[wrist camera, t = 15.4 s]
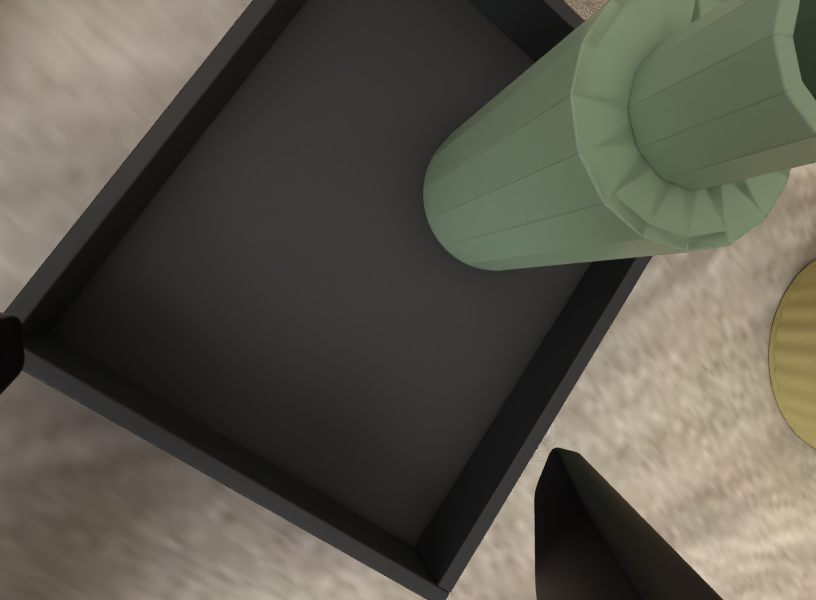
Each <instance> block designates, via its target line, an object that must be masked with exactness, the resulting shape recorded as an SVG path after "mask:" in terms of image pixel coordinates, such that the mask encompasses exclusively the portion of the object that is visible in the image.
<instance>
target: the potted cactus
mask: <svg viewBox="0 0 816 600" xmlns="http://www.w3.org/2000/svg"><path fill="white" fill-rule="evenodd" d="M769 369H770V377H771V382H772V387H773V392H774V395H775V398H776V401H777V403H778V406H779V408H780V410H781V412H782V414H783V416H784V418H785V419H786V421H787V423H788V424H789V426H790V427H791V428H792V429H793V431H794V432H795V433H796V434H797V435H798V436H799V437H800V438H801V439H802V440H803V441H805V442H806V443H807V444H809V445H810V446H812V447H813V448H815V449H816V260H815V261H814V262H812V263H811V264H809V265H808V266H807V267H806V268H805V269H804V270H803V271H802V272H801V273H800V274H799V275H798V276H797V277H796V278H795V279H794V281H793V282H792V283H791V285H790V286H789V288H788V289H787V291H786V293H785V294H784V296H783V298H782V301H781V303H780V305H779V307H778V310H777V312H776V316H775V319H774V323H773V326H772V331H771V337H770V346H769Z"/></svg>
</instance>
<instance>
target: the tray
mask: <svg viewBox="0 0 816 600" xmlns="http://www.w3.org/2000/svg"><path fill="white" fill-rule="evenodd" d="M583 22H584V20H583V19H582V18H581V17H580V16H579V15H578V14H577V13H576V12H575V11H574V10H573V9H572V8H571V7H570V6H569V5H568V4H567V3H565V2H564V1H563V0H253V1H252V2H251V3H250V4H249V6H248V7H247V8H246V9H245V11H244V12H243V13H242V14H241V16H240V17H239V18H238V19H237V21H236V22H235V23H234V24H233V26H232V27H231V28H230V29H229V31H228V32H227V33H226V35H225V36H224V37H223V38H222V40H221V41H220V42H219V43H218V45H217V46H216V47H215V48H214V50H213V51H212V52H211V53H210V55H209V56H208V57H207V58H206V60H205V61H204V62H203V63H202V65H201V66H200V67H199V68H198V70H197V71H196V72H195V73H194V75H193V76H192V77H191V78H190V80H189V81H188V82H187V83H186V85H185V86H184V87H183V88H182V90H181V91H180V92H179V93H178V95H177V96H176V97H175V98H174V100H173V101H172V102H171V104H170V105H169V106H168V107H167V109H166V110H165V111H164V112H163V114H162V115H161V116H160V117H159V119H158V120H157V121H156V122H155V124H154V125H153V126H152V127H151V129H150V130H149V131H148V132H147V134H146V135H145V136H144V137H143V139H142V140H141V141H140V142H139V144H138V145H137V146H136V147H135V149H134V150H133V151H132V152H131V154H130V155H129V156H128V157H127V159H126V160H125V161H124V162H123V164H122V165H121V166H120V167H119V169H118V170H117V171H116V173H115V174H114V175H113V176H112V178H111V179H110V180H109V181H108V183H107V184H106V185H105V186H104V188H103V189H102V190H101V191H100V193H99V194H98V195H97V196H96V198H95V199H94V200H93V201H92V203H91V204H90V205H89V206H88V208H87V209H86V210H85V211H84V213H83V214H82V215H81V216H80V218H79V219H78V220H77V221H76V223H75V224H74V225H73V226H72V228H71V229H70V230H69V231H68V233H67V234H66V235H65V237H64V238H63V239H62V240H61V242H60V243H59V244H58V245H57V247H56V248H55V249H54V250H53V252H52V253H51V254H50V255H49V257H48V258H47V259H46V260H45V262H44V263H43V264H42V265H41V267H40V268H39V269H38V270H37V272H36V273H35V274H34V275H33V277H32V278H31V279H30V280H29V282H28V283H27V284H26V285H25V287H24V288H23V289H22V290H21V292H20V293H19V294H18V295H17V297H16V298H15V299H14V300H13V302H12V303H11V304H10V306H9V307H8V308H7V309H6V311H5V312H4V313H5V314H10V315H14V316H16V317H17V318H19V319H20V321H21V323H22V326H23V340H24V353H25V362H24V366H23V369H22V370H23V371H24V372H26V373H28V374H30V375H32V376H33V377H35V378H37V379H39V380H40V381H42V382H44V383H46V384H47V385H49V386H51V387H53V388H54V389H56V390H58V391H60V392H62V393H63V394H65V395H67V396H69V397H70V398H72V399H74V400H76V401H77V402H79V403H81V404H83V405H84V406H86V407H88V408H90V409H92V410H93V411H95V412H97V413H99V414H100V415H102V416H104V417H106V418H107V419H109V420H111V421H113V422H114V423H116V424H118V425H120V426H122V427H123V428H125V429H127V430H129V431H130V432H132V433H134V434H136V435H137V436H139V437H141V438H143V439H144V440H146V441H148V442H150V443H152V444H153V445H155V446H157V447H159V448H160V449H162V450H164V451H166V452H167V453H169V454H171V455H173V456H174V457H176V458H178V459H180V460H182V461H183V462H185V463H187V464H189V465H190V466H192V467H194V468H196V469H197V470H199V471H201V472H203V473H204V474H206V475H208V476H210V477H212V478H213V479H215V480H217V481H219V482H220V483H222V484H224V485H226V486H227V487H229V488H231V489H233V490H234V491H236V492H238V493H240V494H242V495H243V496H245V497H247V498H249V499H250V500H252V501H254V502H256V503H257V504H259V505H261V506H263V507H264V508H266V509H268V510H270V511H272V512H273V513H275V514H277V515H279V516H280V517H282V518H284V519H286V520H287V521H289V522H291V523H293V524H294V525H296V526H298V527H300V528H302V529H303V530H305V531H307V532H309V533H310V534H312V535H314V536H316V537H317V538H319V539H321V540H323V541H324V542H326V543H328V544H330V545H332V546H333V547H335V548H337V549H339V550H340V551H342V552H344V553H346V554H347V555H349V556H351V557H353V558H354V559H356V560H358V561H360V562H362V563H363V564H365V565H367V566H369V567H370V568H372V569H374V570H376V571H377V572H379V573H381V574H383V575H384V576H386V577H388V578H390V579H392V580H393V581H395V582H397V583H399V584H400V585H402V586H404V587H406V588H407V589H409V590H411V591H413V592H414V593H416V594H418V595H420V596H422V597H423V598H425V599H427V600H446V599H447V597H448V595H449V592H451V591H452V589H453V587H454V586H455V584H456V582H457V581H458V579H459V577H460V576H461V574H462V572H463V571H464V569H465V567H466V566H467V564H468V562H469V561H470V559H471V557H472V556H473V554H474V552H475V551H476V549H477V547H478V546H479V544H480V542H481V541H482V539H483V537H484V536H485V534H486V532H487V531H488V529H489V527H490V526H491V524H492V522H493V521H494V519H495V517H496V516H497V514H498V512H499V511H500V509H501V507H502V506H503V504H504V502H505V501H506V499H507V497H508V496H509V494H510V492H511V491H512V489H513V487H514V486H515V484H516V482H517V481H518V479H519V477H520V476H521V474H522V472H523V471H524V469H525V467H526V466H527V464H528V462H529V461H530V459H531V457H532V456H533V454H534V452H535V451H536V449H537V447H538V446H539V444H540V442H541V441H542V439H543V437H544V436H545V434H546V432H547V431H548V429H549V427H550V426H551V424H552V422H553V421H554V419H555V417H556V416H557V414H558V412H559V411H560V409H561V407H562V406H563V404H564V402H565V401H566V399H567V397H568V396H569V394H570V392H571V391H572V389H573V387H574V386H575V384H576V382H577V381H578V379H579V377H580V376H581V374H582V372H583V371H584V369H585V367H586V366H587V364H588V362H589V361H590V359H591V357H592V356H593V354H594V352H595V351H596V349H597V347H598V346H599V344H600V342H601V341H602V339H603V337H604V336H605V334H606V332H607V331H608V329H609V327H610V326H611V324H612V322H613V321H614V319H615V317H616V316H617V314H618V312H619V311H620V309H621V307H622V306H623V304H624V303H625V301H626V299H627V298H628V296H629V294H630V293H631V291H632V289H633V288H634V286H635V284H636V283H637V281H638V279H639V278H640V276H641V274H642V273H643V271H644V269H645V268H646V266H647V264H648V263H649V261H650V259H651V258H652V256H644V257H633V258H623V259H613V260H603V261H592V262H582V263H572V264H562V265H551V266H541V267H531V268H520V269H510V270H500V271H494V270H485V269H480V268H476V267H473V266H470V265H467V264H465V263H463V262H462V261H460V260H458V259H457V258H455V257H454V256H453V255H451V254H450V253H449V252H448V251H447V250H446V249H445V248H444V247H443V246H442V245H441V243H440V242H439V241H438V239H437V238H436V236H435V235H434V233H433V231H432V229H431V227H430V225H429V222H428V219H427V216H426V213H425V208H424V200H423V186H424V180H425V175H426V171H427V168H428V165H429V163H430V161H431V159H432V157H433V155H434V154H435V152H436V151H437V149H438V148H439V147H440V146H441V144H442V143H443V142H444V141H445V140H446V139H447V138H448V137H449V135H450V134H451V133H453V132H454V131H455V130H456V129H457V128H459V127H460V126H461V125H462V124H463V123H465V122H466V121H467V120H468V119H469V118H470V117H472V116H473V115H474V114H475V113H476V112H478V111H479V110H480V109H481V108H482V107H484V106H485V105H486V104H487V103H488V102H489V101H491V100H492V99H493V98H494V97H495V96H497V95H498V94H499V93H500V92H501V91H503V90H504V89H505V88H506V87H507V86H508V85H510V84H511V83H512V82H513V81H514V80H516V79H517V78H518V77H519V76H520V75H522V74H523V73H524V72H525V71H526V70H527V69H529V68H530V67H531V66H532V65H533V64H535V63H536V62H537V61H538V60H539V59H541V58H542V57H543V56H544V55H545V54H546V53H548V52H549V51H550V50H551V49H552V48H554V47H555V46H556V45H557V44H558V43H559V42H561V41H562V40H563V39H564V38H565V37H567V36H568V35H569V34H570V33H571V32H573V31H574V30H575V29H576V28H577V27H578V26H580V25H581V24H582V23H583Z"/></svg>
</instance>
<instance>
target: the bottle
mask: <svg viewBox="0 0 816 600" xmlns="http://www.w3.org/2000/svg"><path fill="white" fill-rule="evenodd" d="M815 162H816V0H609V1H608V2H607V3H606V4H605V5H603V6H602V7H601V8H600V9H599V10H597V11H596V12H595V13H594V14H593V15H592V16H590V17H589V18H588V19H587V20H586V21H584V22H583V23H582V24H581V25H580V26H578V27H577V28H576V29H575V30H574V31H573V32H571V33H570V34H569V35H568V36H567V37H565V38H564V39H563V40H562V41H561V42H559V43H558V44H557V45H556V46H555V47H554V48H552V49H551V50H550V51H549V52H548V53H546V54H545V55H544V56H543V57H542V58H541V59H539V60H538V61H537V62H536V63H535V64H533V65H532V66H531V67H530V68H529V69H527V70H526V71H525V72H524V73H523V74H522V75H520V76H519V77H518V78H517V79H516V80H514V81H513V82H512V83H511V84H510V85H508V86H507V87H506V88H505V89H504V90H503V91H501V92H500V93H499V94H498V95H497V96H495V97H494V98H493V99H492V100H491V101H489V102H488V103H487V104H486V105H485V106H484V107H482V108H481V109H480V110H479V111H478V112H476V113H475V114H474V115H473V116H472V117H470V118H469V119H468V120H467V121H466V122H465V123H463V124H462V125H461V126H460V127H459V128H457V129H456V130H455V131H454V132H453V133H451V134H450V135H449V137H448V138H447V139H446V140H445V141H444V142H443V143H442V144H441V146H440V147H439V148H438V149H437V151H436V152H435V154H434V155H433V157H432V159H431V161H430V163H429V165H428V168H427V171H426V175H425V180H424V186H423V200H424V208H425V213H426V216H427V219H428V222H429V225H430V227H431V229H432V231H433V233H434V235H435V236H436V238H437V239H438V241H439V242H440V243H441V245H442V246H443V247H444V248H445V249H446V250H447V251H448V252H449V253H450V254H451V255H453V256H454V257H455V258H457V259H458V260H460V261H462V262H463V263H465V264H467V265H470V266H473V267H476V268H480V269H485V270H494V271H500V270H510V269H520V268H531V267H541V266H551V265H562V264H572V263H582V262H592V261H603V260H613V259H623V258H633V257H644V256H654V255H664V254H675V253H685V252H692V251H698V250H704V249H710V248H716V247H722V246H727V245H730V244H731V243H733V242H734V241H735V240H737V239H738V238H740V237H741V236H742V235H744V234H745V233H746V232H748V231H749V230H751V229H752V228H753V227H755V226H756V225H758V224H759V223H760V222H762V221H763V220H764V219H765V218H766V216H767V215H768V213H769V211H770V210H771V208H772V206H773V205H774V203H775V201H776V200H777V198H778V196H779V195H780V193H781V191H782V190H783V188H784V186H785V185H786V183H787V181H788V178H789V175H790V170H791V168H794V167H798V166H802V165H807V164H811V163H815Z"/></svg>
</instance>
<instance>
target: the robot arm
mask: <svg viewBox="0 0 816 600" xmlns="http://www.w3.org/2000/svg"><path fill="white" fill-rule="evenodd" d="M24 362H25V353H24V340H23V326H22V323H21V321H20V319H19V318H17V317H16V316H14V315H10V314H5V313H1V312H0V395H1V394H2V393H3V391H4V390H5V389H6V388H7V387H8V386H9V385H10V384H11V383H12V382H13V381H14V380H15V378H16V377H17V376H18V375H19V374H20V372H21V371H22V369H23V366H24ZM534 513H535V582H536V596H537V600H723V599H722V598H721V597H720V596H719V595H718V594H717V593H716V592H715V591H714V590H713V589H712V588H711V587H710V586H709V585H708V584H707V583H706V582H705V581H704V580H703V579H702V578H701V577H700V576H699V575H698V574H697V573H696V572H695V571H694V570H693V569H692V567H691V566H690V565H689V564H688V563H687V562H686V561H685V560H684V559H683V558H682V557H681V556H680V555H679V554H678V553H677V552H676V551H675V550H674V549H673V548H672V547H671V546H670V545H669V544H668V543H667V542H666V541H665V540H664V539H663V538H662V537H661V536H660V535H659V534H658V533H657V532H656V531H655V530H654V529H653V528H652V527H651V526H650V525H649V524H648V523H647V522H646V521H645V520H644V519H643V518H642V517H641V516H640V515H639V514H638V513H637V511H636V510H635V509H634V508H633V507H632V506H631V505H630V504H629V503H628V502H627V501H626V500H625V499H624V498H623V497H622V496H621V495H620V494H619V493H618V492H617V491H616V490H615V489H614V488H613V487H612V486H611V485H610V484H609V483H608V482H607V481H606V480H605V479H604V478H603V477H602V476H601V475H600V474H599V473H598V472H597V471H596V470H595V469H594V468H593V467H592V466H591V465H590V464H589V463H588V462H587V461H586V460H585V459H584V458H583V457H582V456H581V455H580V454H579V453H577V452H574V451H570V450H566V449H562V448H554V449H552V451H551V452H550V454H549V456H548V458H547V461H546V463H545V466H544V468H543V471H542V474H541V476H540V479H539V481H538V484H537V486H536V490H535V498H534Z"/></svg>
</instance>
